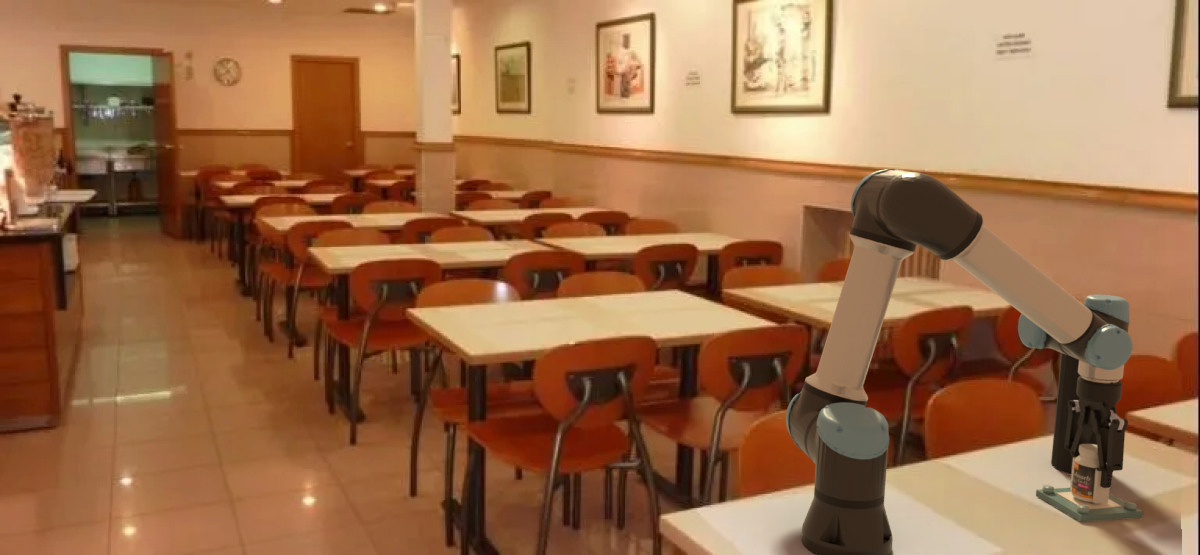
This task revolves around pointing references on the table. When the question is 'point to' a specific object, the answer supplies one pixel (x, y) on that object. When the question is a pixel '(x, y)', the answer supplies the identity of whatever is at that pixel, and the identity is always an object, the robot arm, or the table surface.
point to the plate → (1088, 506)
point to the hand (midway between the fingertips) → (1088, 495)
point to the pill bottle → (1085, 472)
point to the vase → (1065, 412)
